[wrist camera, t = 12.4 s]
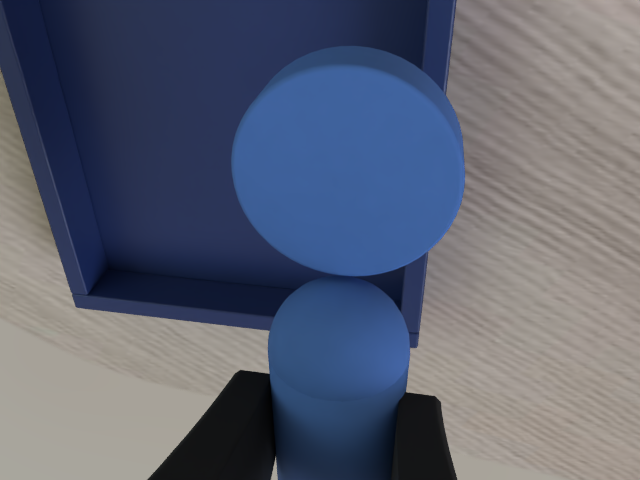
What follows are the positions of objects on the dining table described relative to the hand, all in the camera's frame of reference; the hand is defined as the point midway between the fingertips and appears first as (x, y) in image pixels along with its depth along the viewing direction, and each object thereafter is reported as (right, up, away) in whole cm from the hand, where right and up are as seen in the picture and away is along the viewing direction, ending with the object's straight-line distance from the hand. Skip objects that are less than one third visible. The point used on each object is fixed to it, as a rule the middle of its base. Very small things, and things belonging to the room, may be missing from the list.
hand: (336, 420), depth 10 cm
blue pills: (0, +2, 0) cm, 2 cm away
